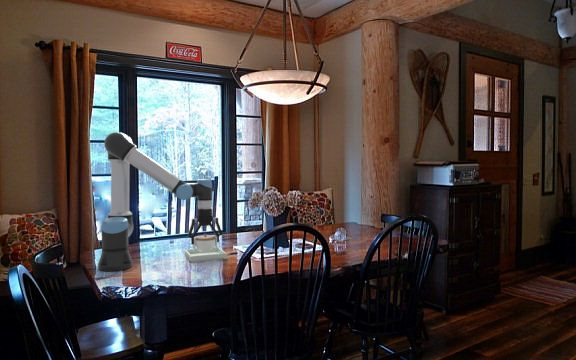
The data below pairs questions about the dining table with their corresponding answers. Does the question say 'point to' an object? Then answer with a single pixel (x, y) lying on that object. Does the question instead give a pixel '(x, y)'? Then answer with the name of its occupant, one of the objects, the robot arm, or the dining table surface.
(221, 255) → the sage bin
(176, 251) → the dining table surface
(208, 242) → the lidded jar
